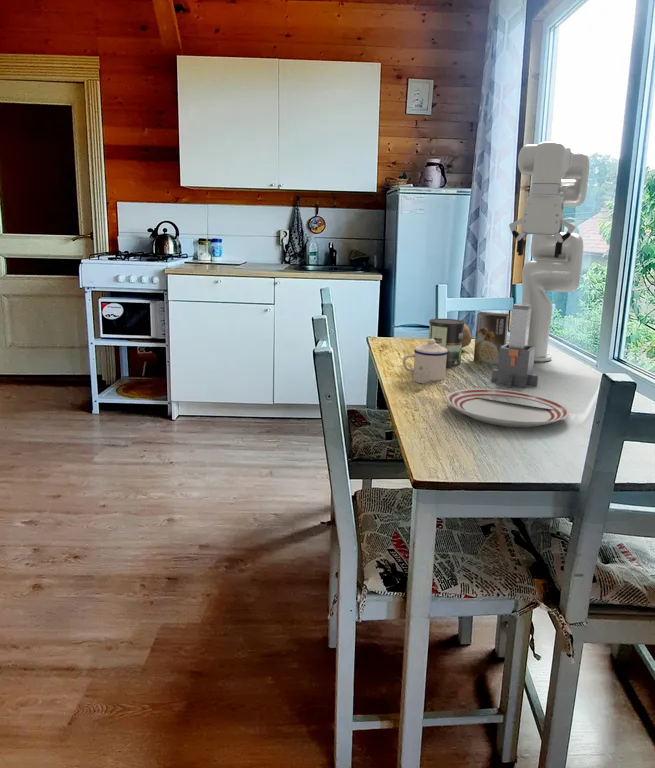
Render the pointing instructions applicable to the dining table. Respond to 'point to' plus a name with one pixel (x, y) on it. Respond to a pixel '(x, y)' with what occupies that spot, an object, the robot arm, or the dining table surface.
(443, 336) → the coffee can
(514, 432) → the dining table surface
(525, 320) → the column
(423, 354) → the teacup with lid
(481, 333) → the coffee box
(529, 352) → the stand base
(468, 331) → the natural sponge
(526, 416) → the dinner plate
